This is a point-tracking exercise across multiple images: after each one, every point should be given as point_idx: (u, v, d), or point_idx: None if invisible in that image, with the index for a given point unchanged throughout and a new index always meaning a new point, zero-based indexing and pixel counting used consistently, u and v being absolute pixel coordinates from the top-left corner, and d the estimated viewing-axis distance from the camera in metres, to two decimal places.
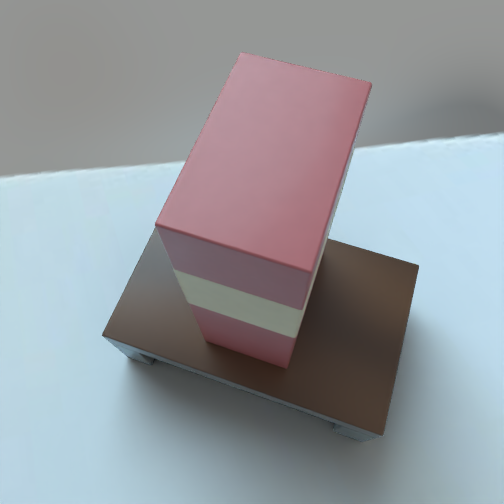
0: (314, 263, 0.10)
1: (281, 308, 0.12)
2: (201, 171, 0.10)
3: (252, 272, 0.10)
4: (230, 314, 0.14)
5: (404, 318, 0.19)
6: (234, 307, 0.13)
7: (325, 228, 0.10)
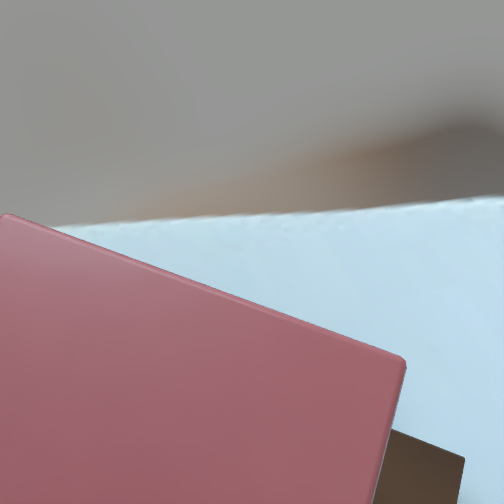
0: None
1: None
2: None
3: None
4: None
5: None
6: None
7: None
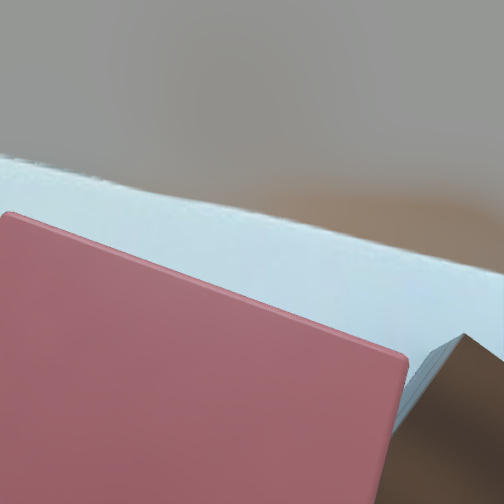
0: None
1: None
2: None
3: None
4: None
5: None
6: None
7: None
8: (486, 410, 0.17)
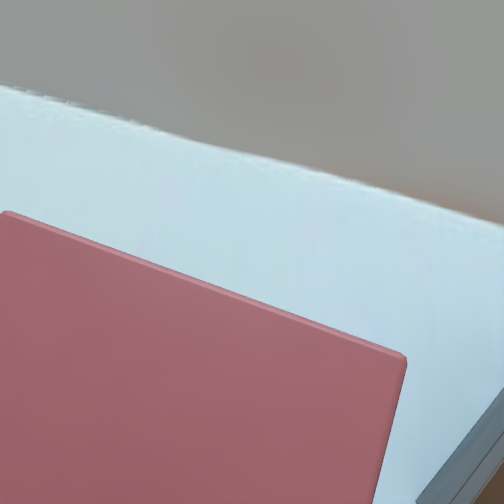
0: None
1: None
2: None
3: None
4: None
5: None
6: None
7: None
8: None
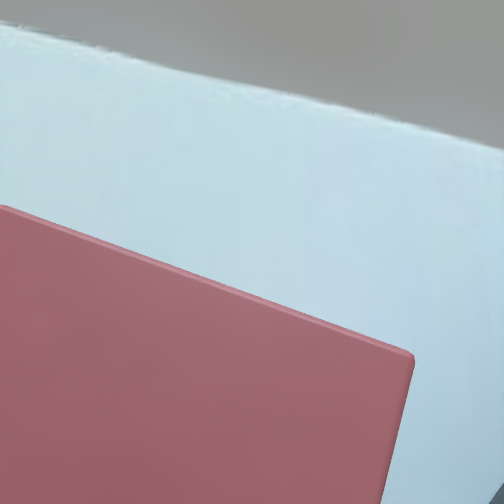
0: None
1: None
2: None
3: None
4: None
5: None
6: None
7: None
8: None
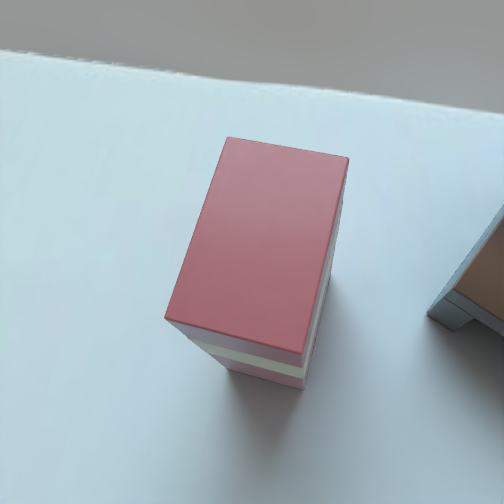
0: (304, 344, 0.11)
1: (285, 365, 0.13)
2: (200, 263, 0.12)
3: (253, 347, 0.12)
4: (243, 362, 0.16)
5: None
6: (244, 359, 0.15)
7: (312, 310, 0.11)
8: None
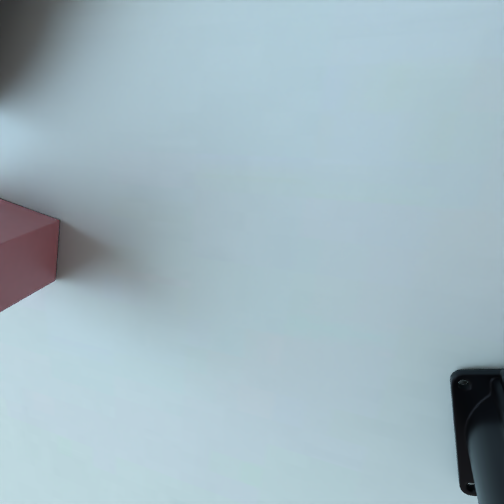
0: None
1: None
2: None
3: None
4: None
5: None
6: None
7: None
8: None
